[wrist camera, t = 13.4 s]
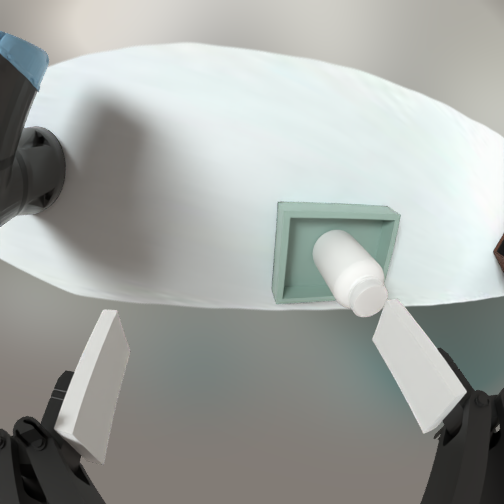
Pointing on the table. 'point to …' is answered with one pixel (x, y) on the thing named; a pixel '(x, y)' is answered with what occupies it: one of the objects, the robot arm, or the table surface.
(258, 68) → the table surface
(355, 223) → the box
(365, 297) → the pill bottle
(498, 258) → the letter holder
